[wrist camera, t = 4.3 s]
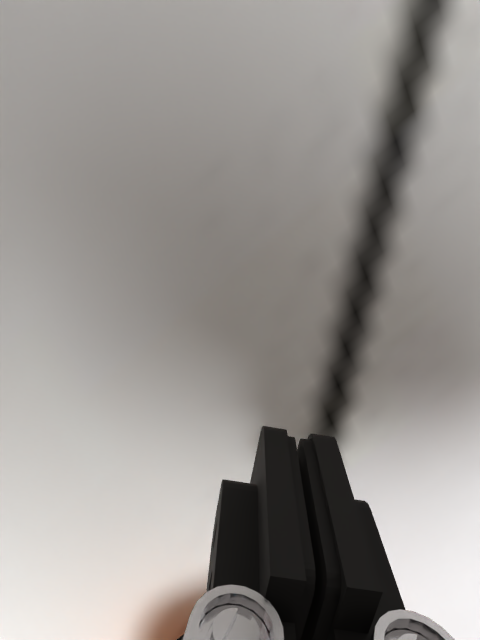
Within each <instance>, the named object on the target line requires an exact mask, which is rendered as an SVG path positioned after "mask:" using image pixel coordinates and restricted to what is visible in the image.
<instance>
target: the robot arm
mask: <svg viewBox="0 0 480 640" xmlns="http://www.w3.org/2000/svg"><path fill="white" fill-rule="evenodd" d="M177 640H455V639H454V638H453V637H452V636H451V635H450V634H449V633H448V632H447V631H446V630H445V629H443V628H442V627H441V626H440V625H438V624H437V623H435V622H434V621H432V620H431V619H430V618H428V617H426V616H424V615H421V614H419V613H416V612H414V611H408V610H405V607H404V604H403V601H402V599H401V596H400V593H399V590H398V587H397V584H396V581H395V578H394V575H393V573H392V570H391V567H390V564H389V561H388V558H387V555H386V552H385V549H384V547H383V544H382V541H381V538H380V535H379V532H378V529H377V526H376V523H375V521H374V518H373V515H372V512H371V509H370V507H369V505H368V503H366V502H365V501H360V500H354V497H353V493H352V490H351V487H350V484H349V480H348V477H347V474H346V471H345V467H344V464H343V461H342V458H341V454H340V451H339V448H338V445H337V441H336V439H335V438H334V437H330V436H323V435H317V434H310V435H309V437H308V439H302V438H301V439H300V441H299V445H298V449H297V448H296V442H295V438H294V437H289V436H287V431H286V430H285V429H279V428H272V427H266V426H263V427H262V429H261V433H260V438H259V443H258V447H257V452H256V457H255V462H254V467H253V472H252V477H251V481H250V484H249V483H243V482H236V481H230V480H222V484H221V489H220V494H219V500H218V505H217V511H216V517H215V524H214V531H213V538H212V546H211V555H210V565H209V574H208V583H207V592H206V593H205V594H204V595H203V596H202V597H201V598H200V599H199V600H198V601H197V602H196V604H195V606H194V608H193V610H192V612H191V614H190V617H189V621H188V624H187V627H186V631H185V634H184V635H182V636H181V637H180V638H178V639H177Z"/></svg>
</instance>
